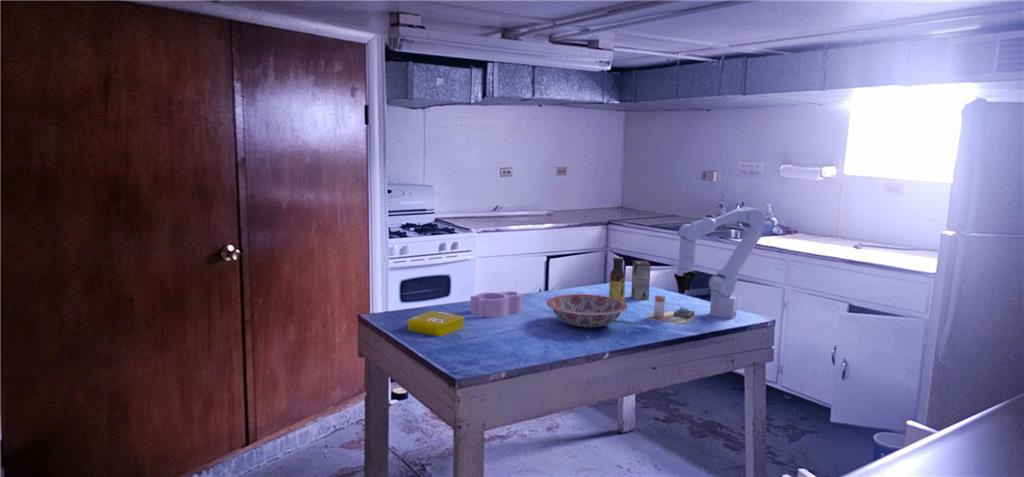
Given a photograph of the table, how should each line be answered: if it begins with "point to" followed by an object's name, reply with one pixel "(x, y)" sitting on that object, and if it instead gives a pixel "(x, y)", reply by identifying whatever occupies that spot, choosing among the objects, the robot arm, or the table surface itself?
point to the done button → (684, 310)
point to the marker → (659, 306)
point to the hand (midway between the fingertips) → (684, 291)
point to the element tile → (436, 323)
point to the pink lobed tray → (496, 304)
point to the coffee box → (640, 280)
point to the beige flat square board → (671, 318)
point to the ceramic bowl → (586, 309)
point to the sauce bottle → (617, 280)
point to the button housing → (683, 314)
